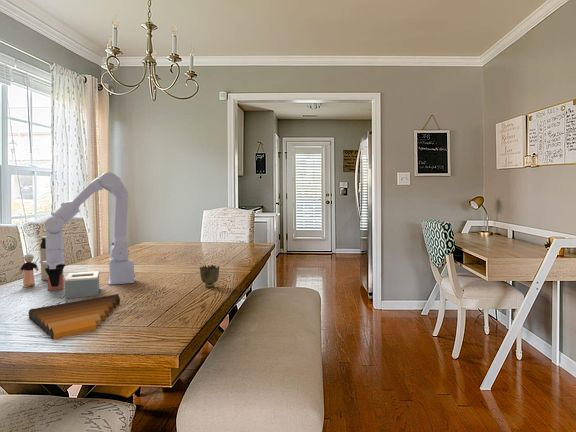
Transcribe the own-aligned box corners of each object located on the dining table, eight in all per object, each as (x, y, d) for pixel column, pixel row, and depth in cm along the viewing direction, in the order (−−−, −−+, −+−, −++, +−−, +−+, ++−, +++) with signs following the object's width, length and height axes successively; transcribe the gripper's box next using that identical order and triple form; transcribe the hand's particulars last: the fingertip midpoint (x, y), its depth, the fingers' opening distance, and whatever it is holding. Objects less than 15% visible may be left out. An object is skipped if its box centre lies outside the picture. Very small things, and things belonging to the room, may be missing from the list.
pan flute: (115, 303, 135) (28, 319, 117) (115, 293, 135) (28, 308, 117) (150, 319, 117) (54, 342, 100) (150, 308, 117) (53, 328, 99)
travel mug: (67, 277, 174) (66, 235, 173) (55, 281, 166) (53, 237, 165) (50, 276, 175) (48, 234, 174) (36, 280, 167) (35, 236, 166)
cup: (223, 287, 156) (223, 266, 155) (207, 290, 150) (207, 269, 150) (211, 284, 161) (211, 264, 160) (196, 287, 155) (195, 266, 155)
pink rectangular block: (64, 287, 155) (63, 274, 154) (63, 289, 152) (62, 275, 152) (48, 288, 153) (48, 275, 152) (47, 290, 150) (47, 277, 150)
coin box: (99, 288, 154) (98, 271, 153) (97, 295, 142) (97, 277, 142) (69, 290, 150) (68, 273, 149) (65, 298, 139) (64, 279, 138)
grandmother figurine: (25, 288, 153) (24, 255, 152) (17, 288, 154) (16, 254, 153) (42, 284, 160) (41, 252, 160) (33, 283, 161) (32, 251, 160)
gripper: (45, 247, 157) (46, 282, 158) (38, 252, 143) (40, 290, 144) (66, 246, 159) (67, 280, 160) (61, 251, 146) (62, 288, 147)
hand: (55, 285), depth 152 cm, fingers open, 4 cm apart
